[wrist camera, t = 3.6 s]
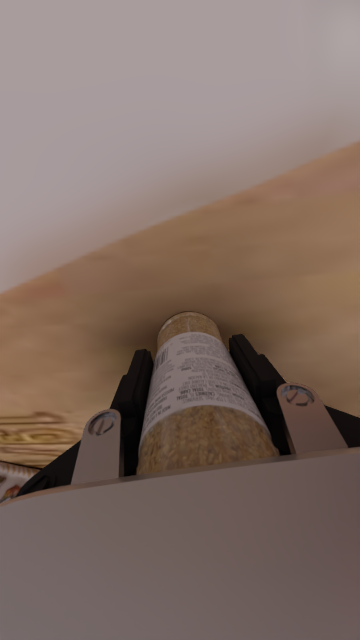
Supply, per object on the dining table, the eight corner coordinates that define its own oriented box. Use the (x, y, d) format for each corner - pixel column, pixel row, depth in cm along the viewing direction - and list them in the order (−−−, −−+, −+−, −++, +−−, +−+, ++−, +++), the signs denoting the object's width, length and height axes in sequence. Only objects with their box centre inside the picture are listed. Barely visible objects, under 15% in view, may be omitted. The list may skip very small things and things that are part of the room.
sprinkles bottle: (193, 376, 15) (275, 947, 3) (144, 345, 14) (-62, 1039, 2) (233, 333, 14) (680, 1016, 2) (183, 295, 13) (361, 1432, 1)
